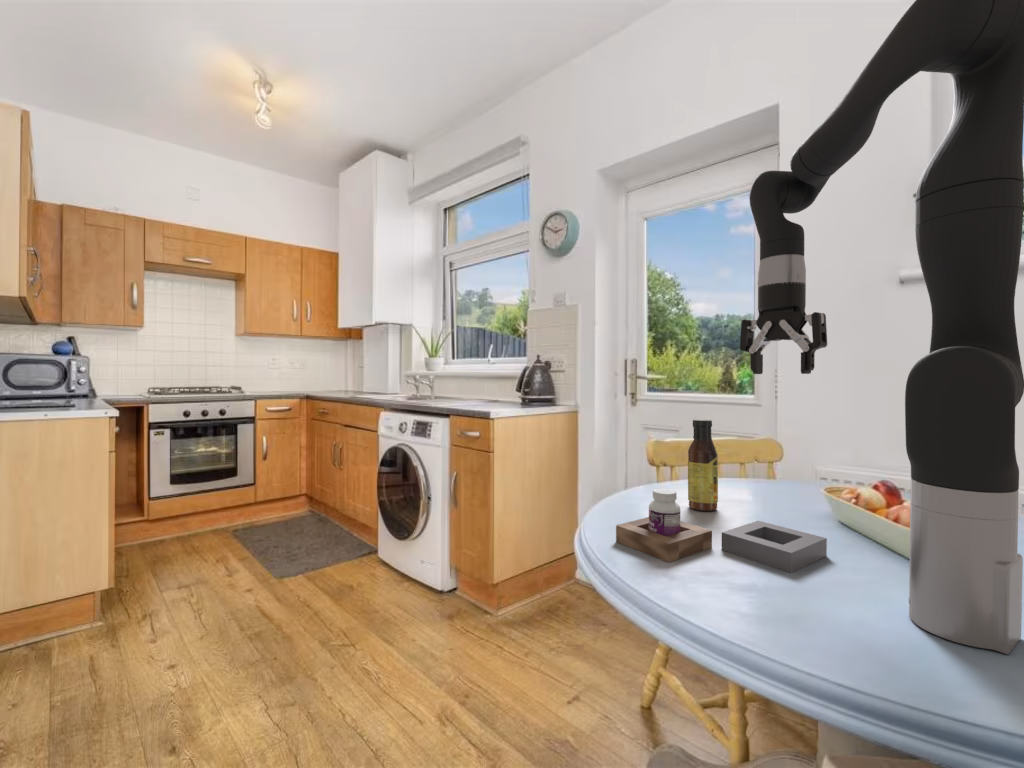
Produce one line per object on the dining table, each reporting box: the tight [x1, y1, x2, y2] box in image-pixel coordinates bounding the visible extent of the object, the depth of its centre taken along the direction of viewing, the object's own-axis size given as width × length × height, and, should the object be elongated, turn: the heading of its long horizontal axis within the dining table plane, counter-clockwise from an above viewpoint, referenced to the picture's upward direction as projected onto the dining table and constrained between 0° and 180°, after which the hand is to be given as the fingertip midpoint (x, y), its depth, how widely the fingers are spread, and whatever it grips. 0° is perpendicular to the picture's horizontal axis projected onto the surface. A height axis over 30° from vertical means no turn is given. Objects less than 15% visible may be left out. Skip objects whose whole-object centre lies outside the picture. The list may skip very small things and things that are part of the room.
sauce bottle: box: [687, 418, 719, 512], centre depth 108 cm, size 6×6×20 cm
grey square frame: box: [721, 520, 828, 573], centre depth 81 cm, size 12×12×3 cm
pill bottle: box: [648, 487, 681, 536], centre depth 85 cm, size 5×5×10 cm
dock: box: [615, 516, 713, 563], centre depth 85 cm, size 12×12×3 cm
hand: (780, 373), depth 87 cm, fingers open, 8 cm apart
